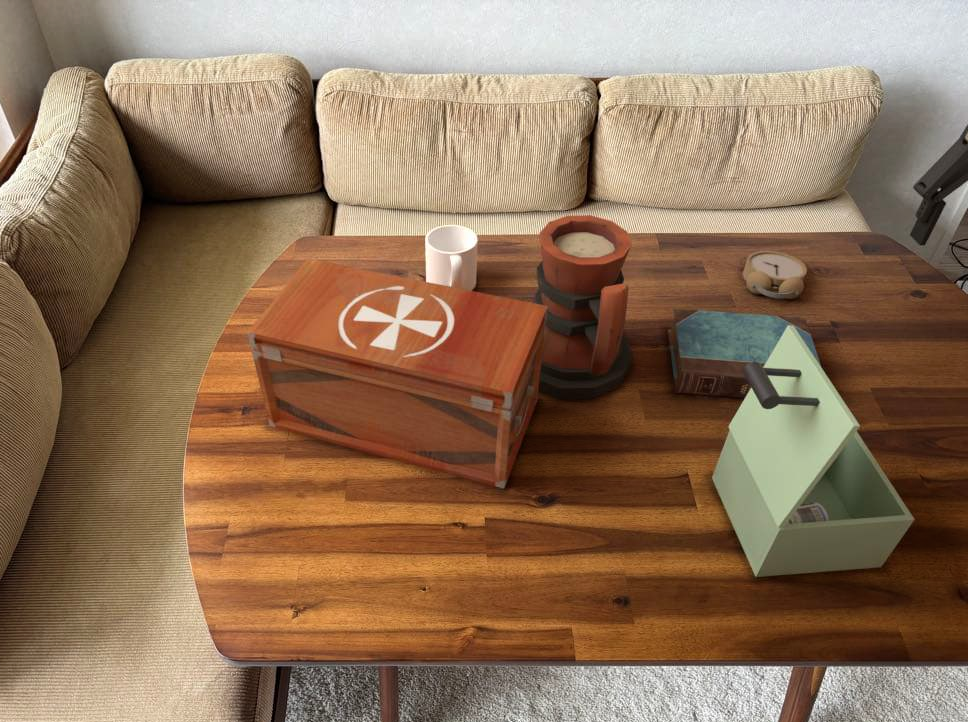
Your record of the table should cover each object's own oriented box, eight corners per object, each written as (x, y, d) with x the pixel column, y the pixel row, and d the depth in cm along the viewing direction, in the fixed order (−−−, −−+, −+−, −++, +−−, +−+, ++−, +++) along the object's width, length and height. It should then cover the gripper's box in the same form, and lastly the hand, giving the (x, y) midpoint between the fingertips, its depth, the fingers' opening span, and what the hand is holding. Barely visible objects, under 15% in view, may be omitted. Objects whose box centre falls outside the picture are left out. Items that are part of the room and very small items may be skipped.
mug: (423, 271, 157) (422, 227, 150) (471, 266, 158) (472, 222, 151) (431, 308, 148) (430, 263, 141) (482, 303, 149) (484, 258, 142)
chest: (824, 469, 118) (850, 420, 110) (881, 567, 105) (914, 519, 98) (711, 478, 117) (729, 429, 109) (755, 577, 105) (779, 529, 97)
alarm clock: (805, 255, 154) (812, 286, 142) (797, 277, 156) (803, 310, 145) (746, 246, 156) (748, 276, 144) (740, 269, 159) (741, 300, 147)
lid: (793, 325, 97) (734, 321, 95) (860, 426, 84) (793, 423, 83) (733, 427, 109) (680, 424, 108) (783, 527, 97) (724, 526, 95)
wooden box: (321, 349, 140) (307, 256, 126) (539, 400, 130) (550, 305, 116) (267, 426, 127) (244, 332, 112) (506, 489, 116) (514, 394, 102)
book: (675, 394, 130) (682, 372, 127) (667, 329, 142) (673, 307, 139) (816, 406, 128) (827, 384, 124) (796, 338, 140) (805, 316, 136)
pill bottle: (808, 527, 110) (753, 536, 109) (810, 496, 109) (754, 505, 108) (829, 541, 106) (772, 551, 105) (831, 510, 104) (773, 519, 104)
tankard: (599, 310, 147) (619, 194, 130) (660, 398, 130) (693, 277, 112) (490, 330, 143) (495, 214, 126) (537, 423, 126) (552, 303, 109)
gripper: (1124, 67, 96) (1033, 217, 111) (930, 77, 95) (864, 227, 110) (1170, 92, 90) (1068, 246, 105) (965, 103, 89) (891, 257, 104)
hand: (964, 237), depth 108 cm, fingers open, 13 cm apart
